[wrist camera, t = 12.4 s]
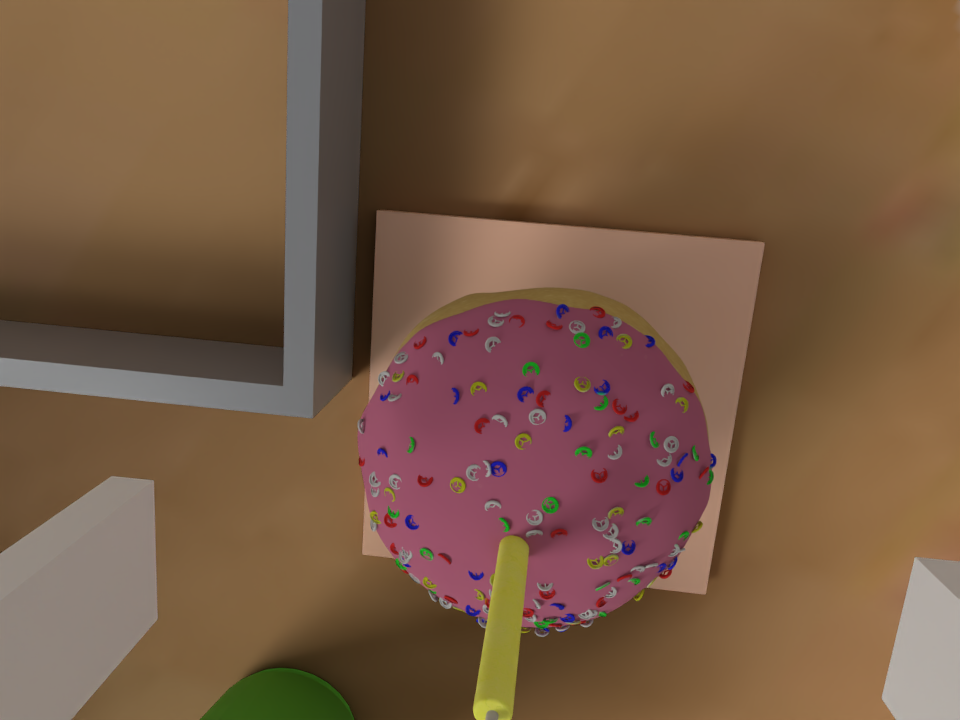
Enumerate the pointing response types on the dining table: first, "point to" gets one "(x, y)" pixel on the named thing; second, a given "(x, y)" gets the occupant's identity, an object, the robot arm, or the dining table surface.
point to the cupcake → (534, 464)
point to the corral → (308, 264)
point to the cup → (280, 698)
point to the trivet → (591, 267)
